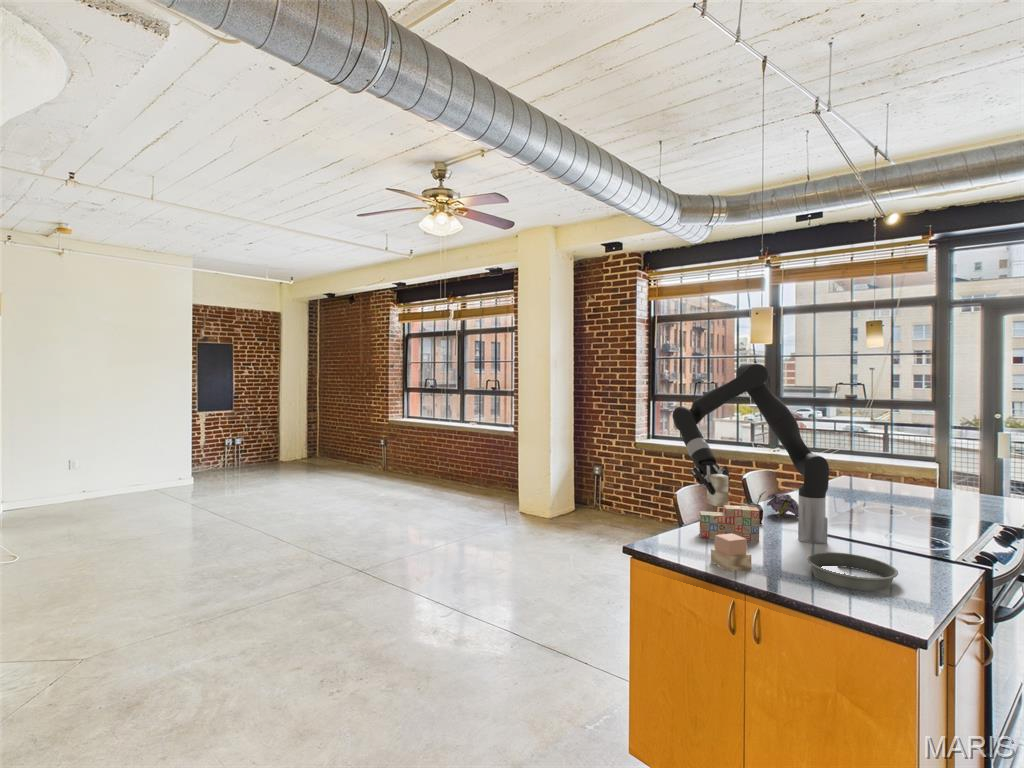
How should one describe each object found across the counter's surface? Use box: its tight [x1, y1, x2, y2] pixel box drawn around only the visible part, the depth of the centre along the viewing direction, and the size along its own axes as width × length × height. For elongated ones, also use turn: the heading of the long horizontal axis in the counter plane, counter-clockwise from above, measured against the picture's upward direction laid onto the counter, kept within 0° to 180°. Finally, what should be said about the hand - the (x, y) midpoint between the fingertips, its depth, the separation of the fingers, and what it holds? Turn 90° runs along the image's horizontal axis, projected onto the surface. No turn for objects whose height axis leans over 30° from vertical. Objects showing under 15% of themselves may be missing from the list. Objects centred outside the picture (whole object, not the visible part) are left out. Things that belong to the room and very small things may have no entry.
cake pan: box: [806, 551, 899, 591], centre depth 177 cm, size 25×25×4 cm
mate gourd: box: [746, 490, 767, 525], centre depth 240 cm, size 8×8×15 cm
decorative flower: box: [766, 492, 799, 519], centre depth 252 cm, size 14×12×15 cm
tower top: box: [714, 533, 748, 556], centre depth 188 cm, size 7×7×5 cm
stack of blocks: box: [699, 504, 761, 543], centre depth 220 cm, size 21×6×12 cm, turn 76°
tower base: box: [710, 548, 752, 572], centre depth 188 cm, size 9×9×5 cm
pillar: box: [706, 474, 729, 507], centre depth 194 cm, size 5×5×10 cm
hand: (720, 493), depth 193 cm, fingers closed on pillar, 5 cm apart
